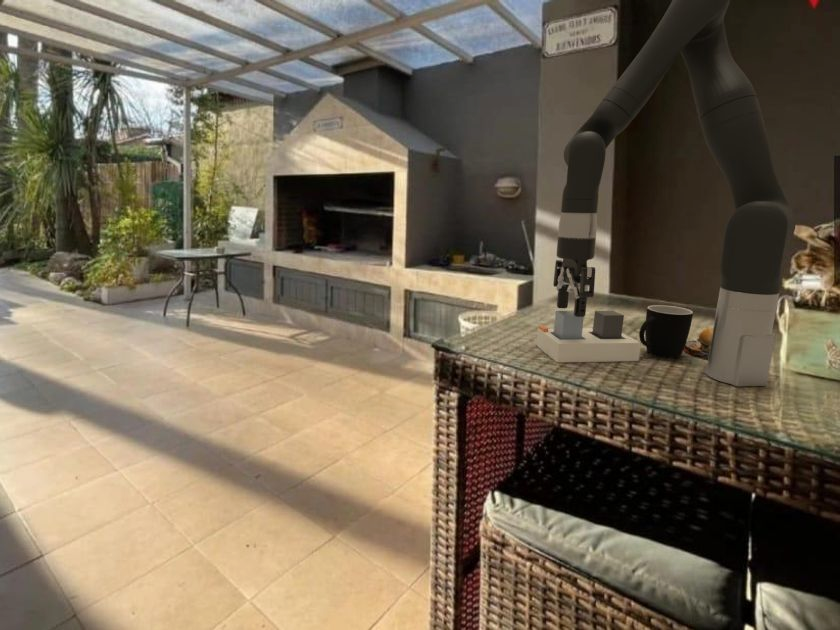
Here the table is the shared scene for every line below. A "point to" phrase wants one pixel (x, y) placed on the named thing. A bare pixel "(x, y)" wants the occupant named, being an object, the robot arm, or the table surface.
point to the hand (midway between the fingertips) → (570, 312)
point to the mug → (666, 330)
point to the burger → (700, 345)
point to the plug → (568, 325)
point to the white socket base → (592, 342)
